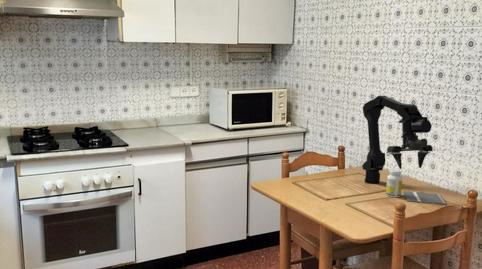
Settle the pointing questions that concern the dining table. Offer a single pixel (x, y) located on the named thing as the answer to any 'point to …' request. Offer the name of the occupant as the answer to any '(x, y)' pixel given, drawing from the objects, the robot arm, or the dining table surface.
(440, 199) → the mat
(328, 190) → the dining table surface
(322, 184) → the dining table surface
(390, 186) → the pill bottle
